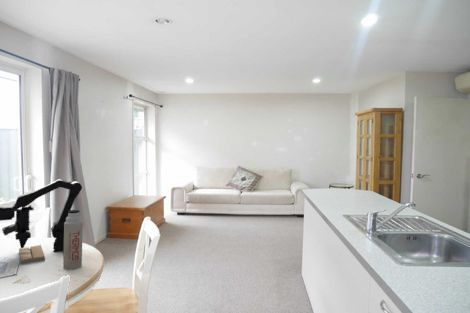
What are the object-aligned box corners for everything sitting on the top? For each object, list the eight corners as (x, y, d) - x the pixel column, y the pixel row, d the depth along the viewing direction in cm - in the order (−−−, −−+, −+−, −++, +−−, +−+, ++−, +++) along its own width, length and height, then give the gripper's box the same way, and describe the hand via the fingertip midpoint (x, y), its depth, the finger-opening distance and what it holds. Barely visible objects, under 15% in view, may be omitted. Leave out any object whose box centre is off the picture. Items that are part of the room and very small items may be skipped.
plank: (19, 250, 159) (19, 248, 159) (28, 248, 161) (29, 246, 161) (20, 261, 144) (20, 259, 144) (31, 259, 146) (31, 257, 146)
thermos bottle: (81, 268, 142) (83, 211, 141) (62, 271, 138) (64, 212, 137) (81, 262, 149) (83, 208, 148) (63, 264, 145) (65, 209, 144)
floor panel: (19, 252, 159) (19, 248, 159) (40, 248, 165) (40, 245, 165) (20, 264, 143) (20, 260, 143) (44, 260, 150) (44, 256, 150)
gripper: (3, 216, 157) (2, 245, 157) (3, 224, 142) (2, 256, 143) (28, 214, 164) (28, 242, 164) (31, 222, 149) (30, 252, 149)
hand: (22, 247), depth 155 cm, fingers closed
